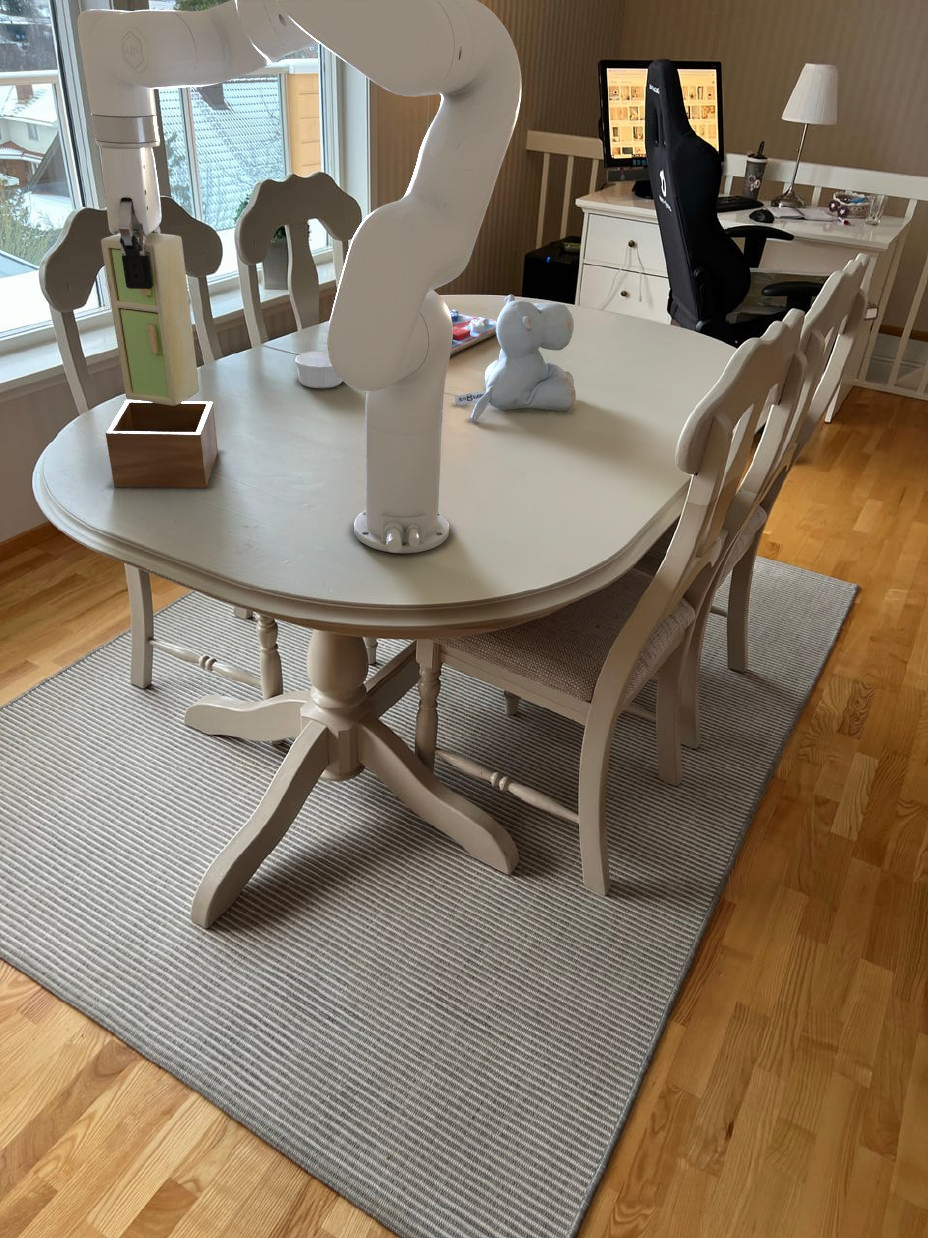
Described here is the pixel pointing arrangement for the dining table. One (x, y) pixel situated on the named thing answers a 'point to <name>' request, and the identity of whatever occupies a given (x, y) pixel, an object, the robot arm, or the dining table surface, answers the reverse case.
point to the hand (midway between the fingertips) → (146, 278)
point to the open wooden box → (162, 444)
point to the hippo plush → (527, 360)
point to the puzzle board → (469, 330)
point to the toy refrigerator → (153, 323)
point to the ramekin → (316, 370)
